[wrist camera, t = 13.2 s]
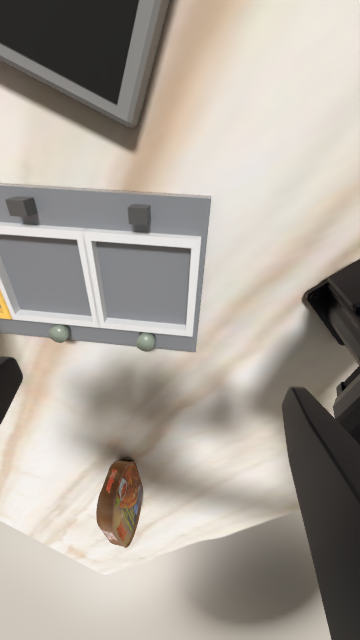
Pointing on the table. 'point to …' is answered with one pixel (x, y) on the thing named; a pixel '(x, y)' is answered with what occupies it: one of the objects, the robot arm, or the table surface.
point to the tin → (120, 503)
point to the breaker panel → (102, 265)
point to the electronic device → (86, 49)
